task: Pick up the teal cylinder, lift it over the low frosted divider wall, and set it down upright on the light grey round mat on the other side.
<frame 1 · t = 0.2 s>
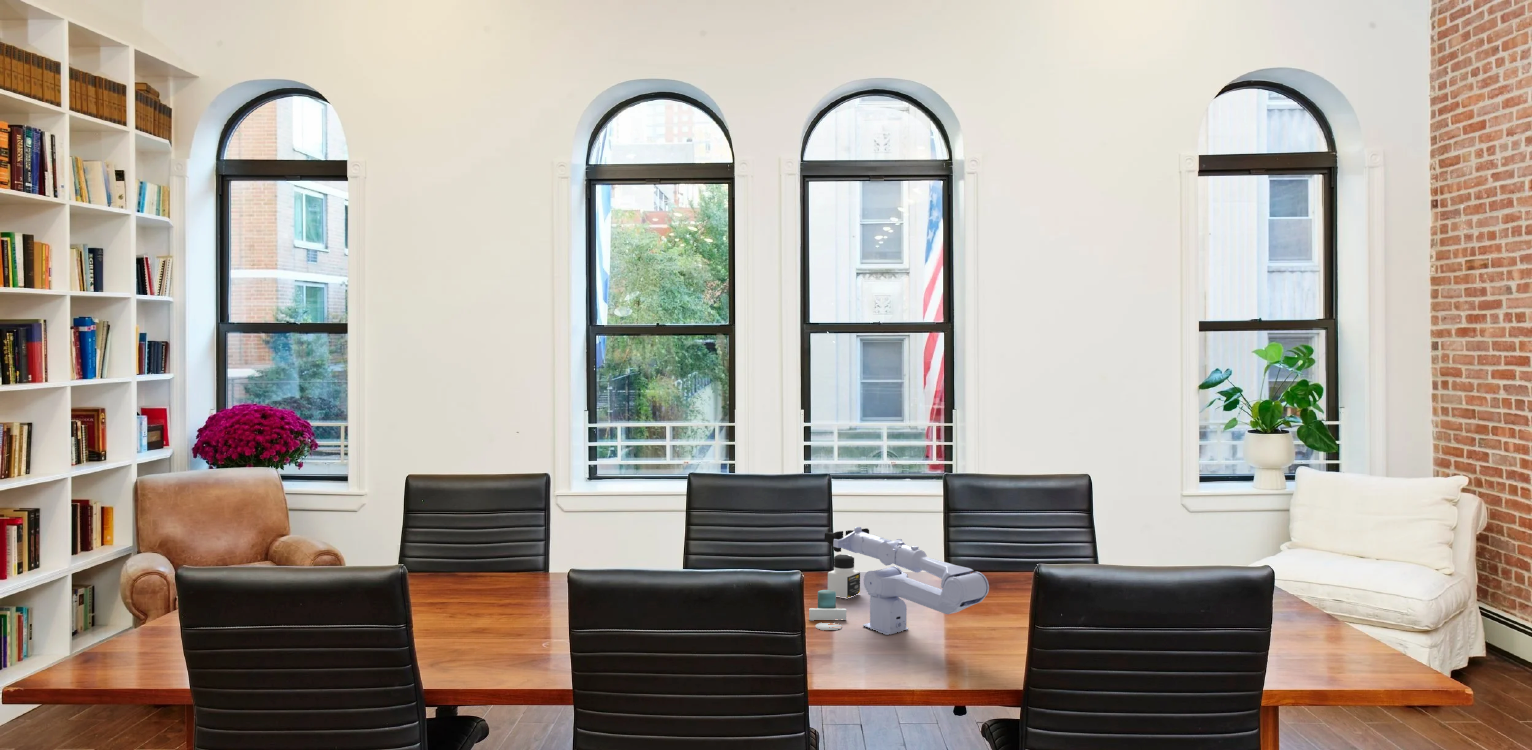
hand: (836, 535, 254), 21 cm above the table, tool horizontal, fingers open, 7 cm apart
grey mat: (828, 626, 240), on the table
divider wall: (827, 619, 246), on the table
medicine bottle: (843, 596, 271), on the table
teal cylinder: (826, 613, 252), on the table
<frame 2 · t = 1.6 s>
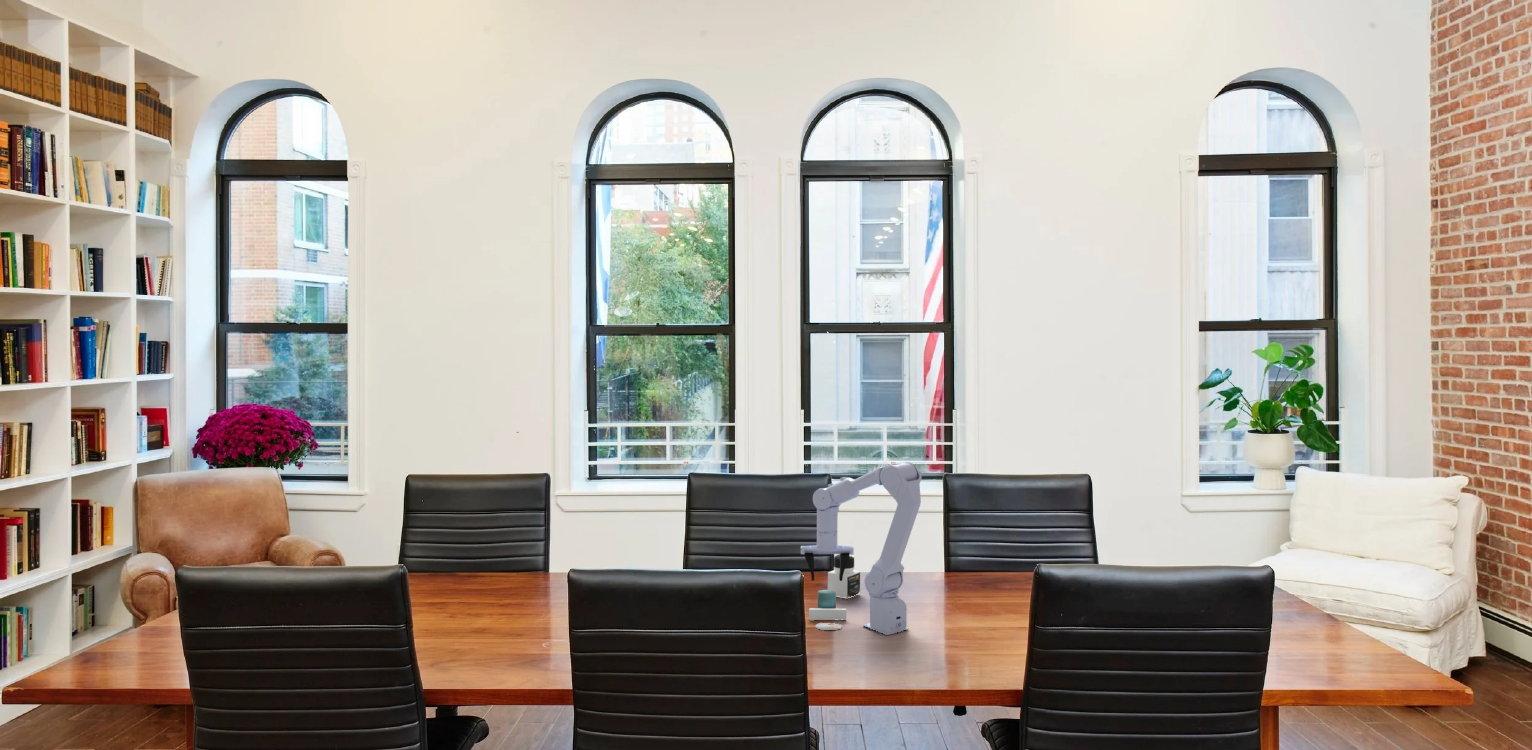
hand: (826, 579, 252), 9 cm above the table, tool pointing down, fingers open, 7 cm apart
nothing on the table moved.
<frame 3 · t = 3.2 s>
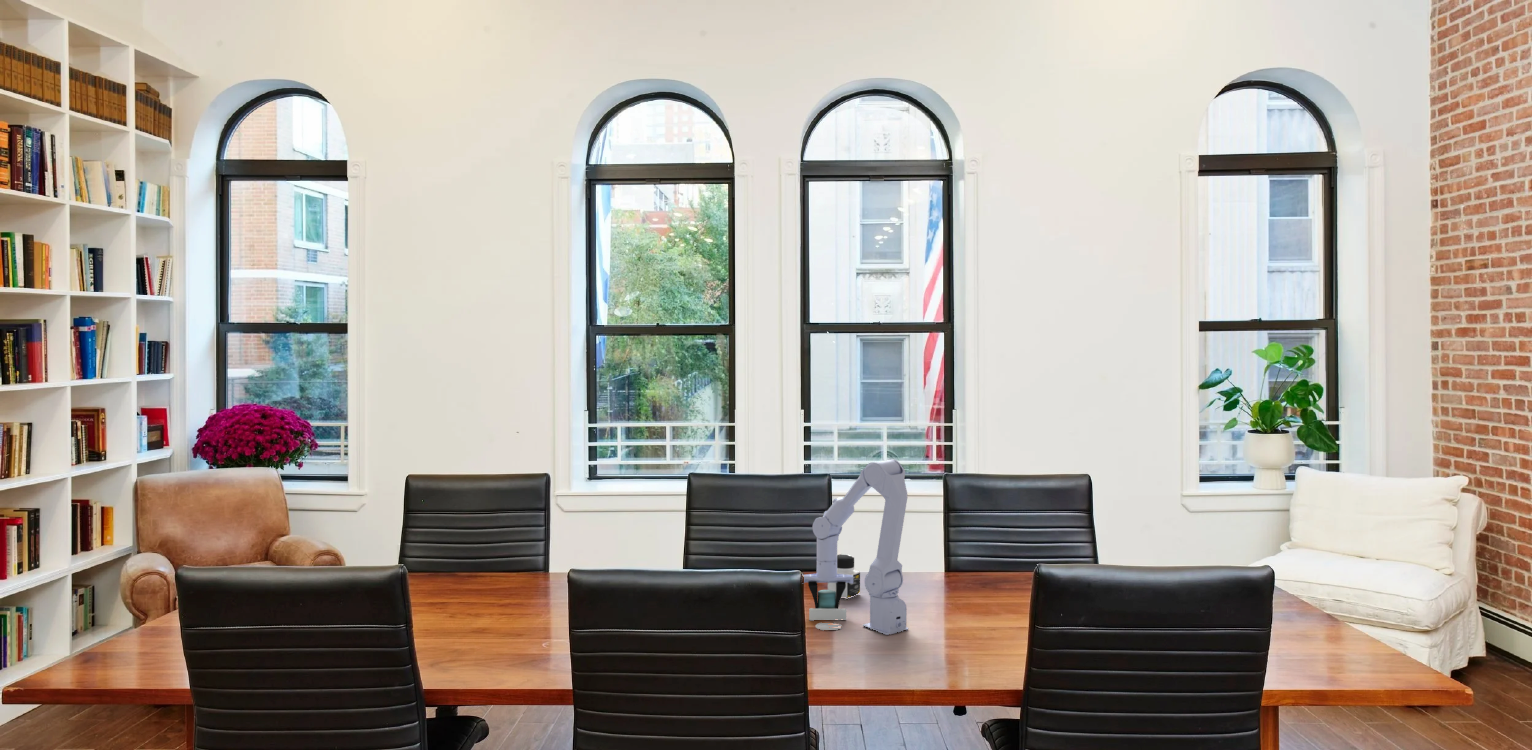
hand: (826, 608, 252), 1 cm above the table, tool pointing down, fingers closed on teal cylinder, 5 cm apart
teal cylinder: (826, 613, 252), on the table, touching gripper
everything else where it was.
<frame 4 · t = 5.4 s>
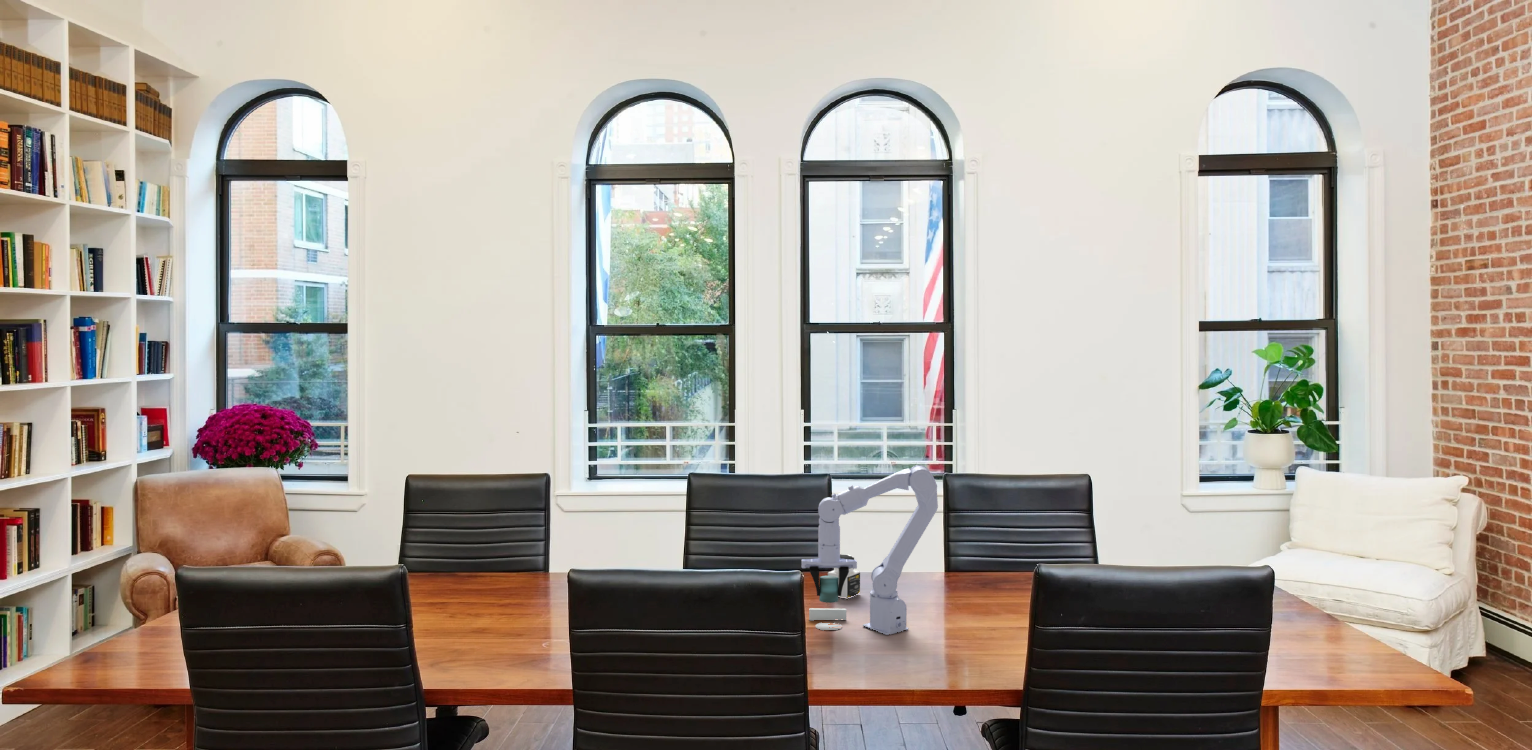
hand: (828, 594, 240), 8 cm above the table, tool pointing down, fingers closed on teal cylinder, 5 cm apart
teal cylinder: (828, 600, 240), point 7 cm above the table, touching gripper
everything else where it was.
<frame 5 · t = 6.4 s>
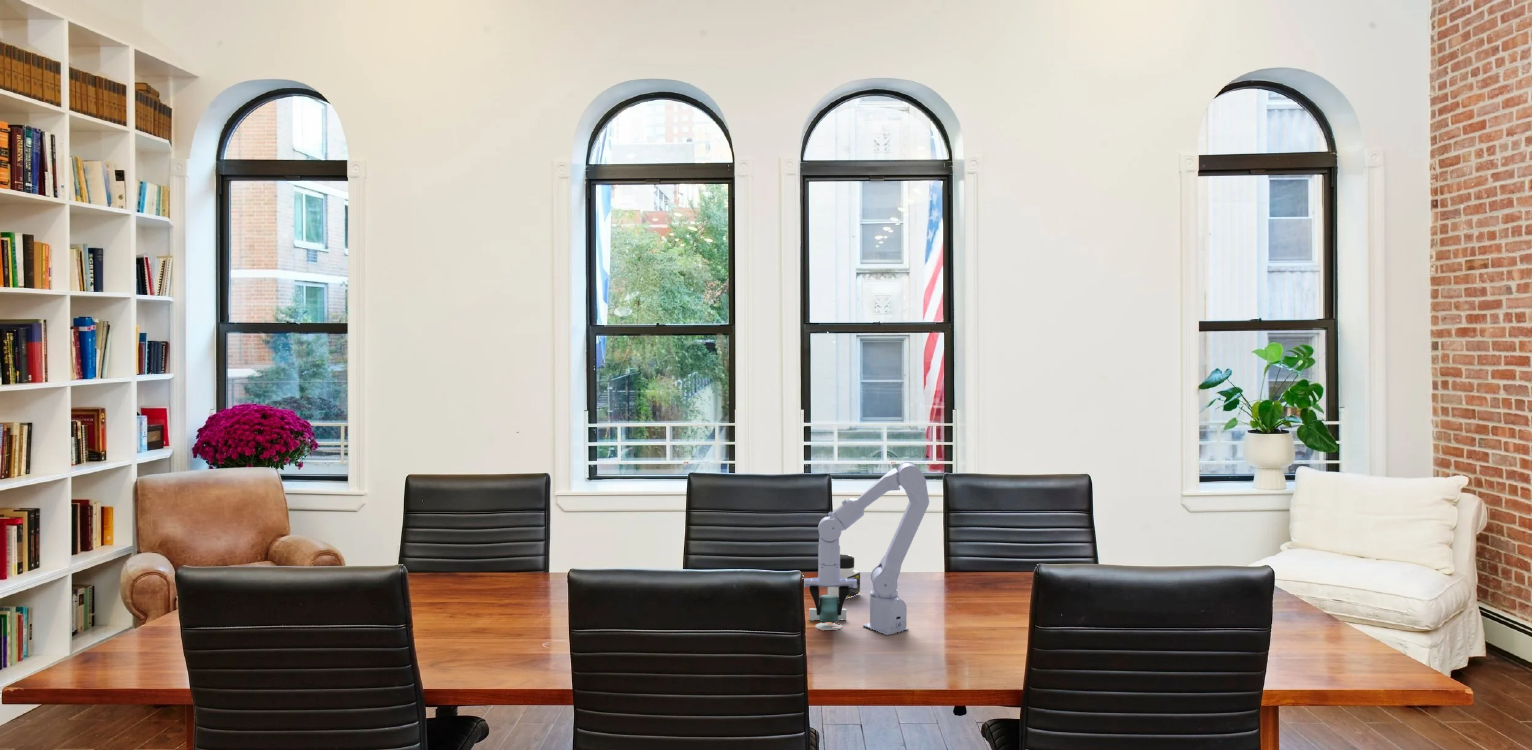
hand: (828, 614, 240), 3 cm above the table, tool pointing down, fingers closed on teal cylinder, 5 cm apart
teal cylinder: (828, 619, 240), point 2 cm above the table, touching gripper
everything else where it was.
when the fingers open (3 cm above the table, at t = 7.4 s): teal cylinder drops 1 cm, resting on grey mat.
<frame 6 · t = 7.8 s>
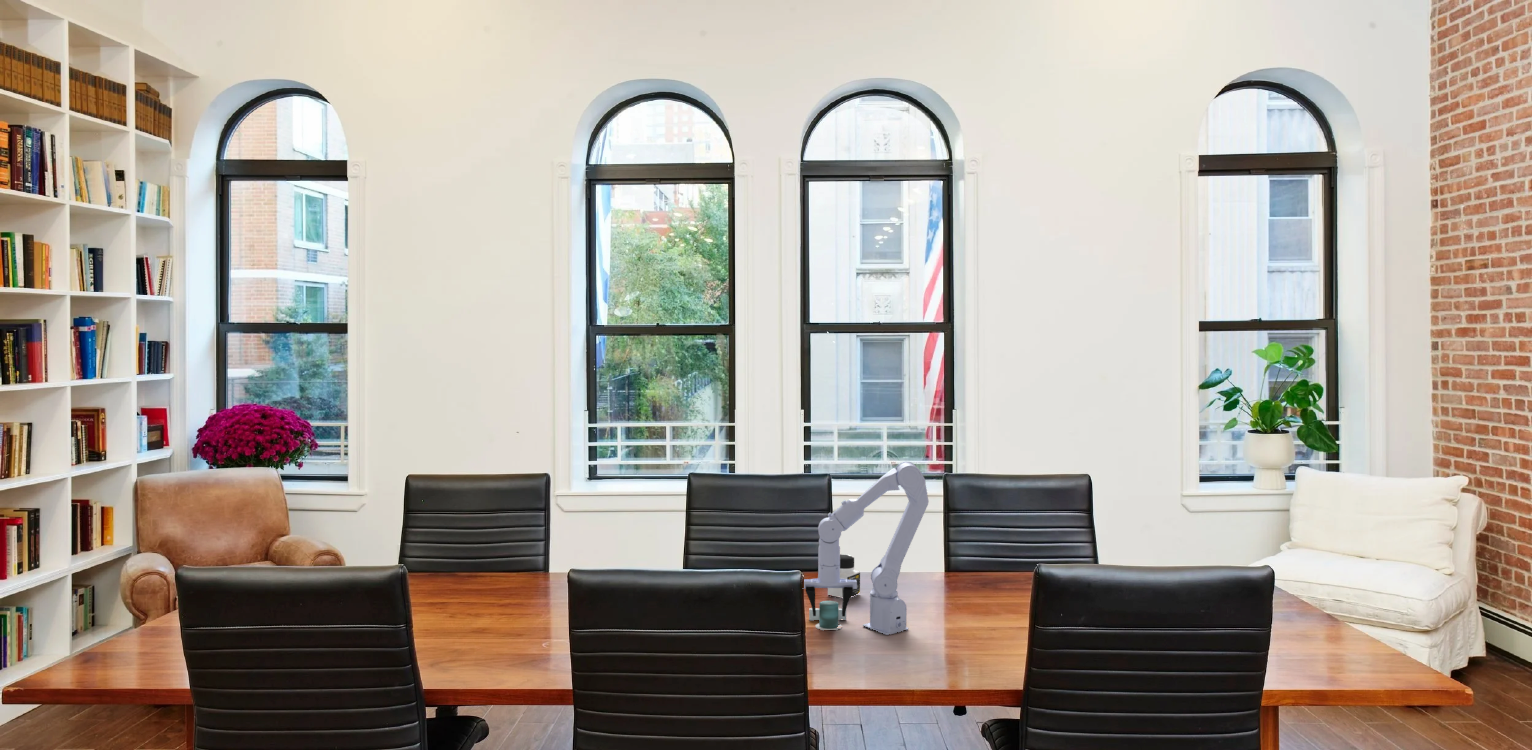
hand: (828, 615, 240), 3 cm above the table, tool pointing down, fingers open, 7 cm apart
teal cylinder: (828, 625, 240), resting on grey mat
everything else where it was.
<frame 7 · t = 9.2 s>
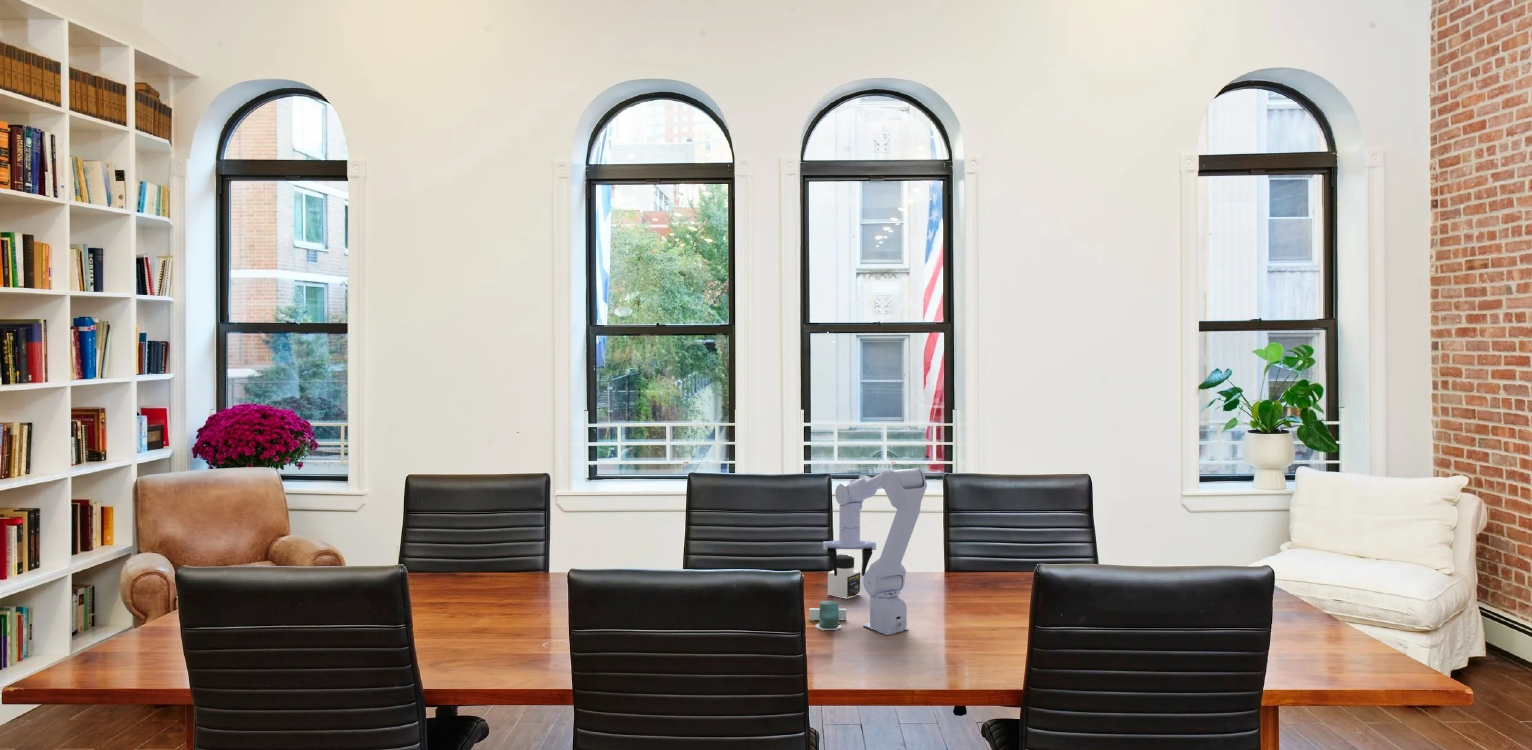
hand: (849, 575, 253), 10 cm above the table, tool pointing down, fingers open, 7 cm apart
nothing on the table moved.
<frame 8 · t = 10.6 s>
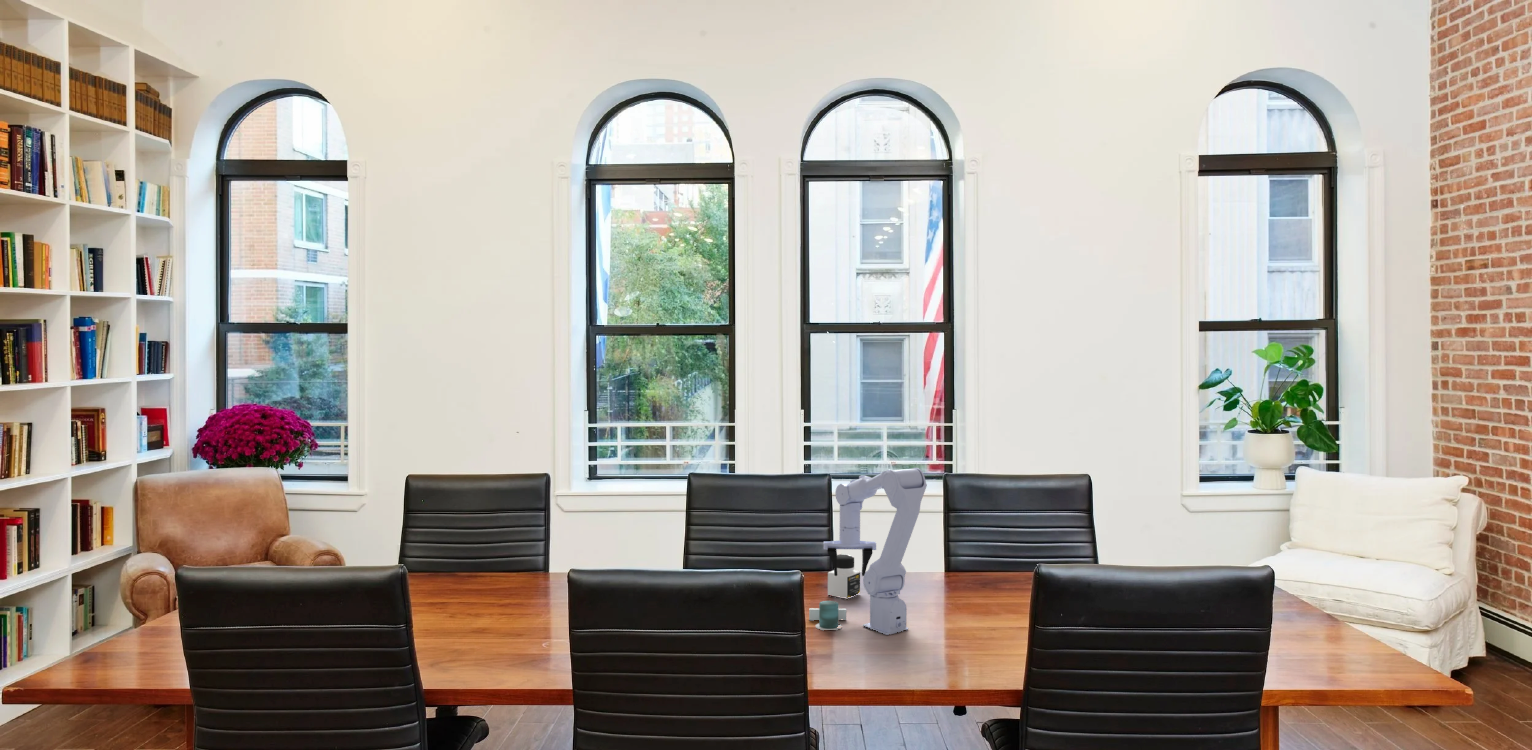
hand: (849, 575, 253), 10 cm above the table, tool pointing down, fingers open, 7 cm apart
nothing on the table moved.
at the end: teal cylinder 0.1 cm from the target spot, resting on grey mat; teal cylinder tilted 0°; the gripper is holding nothing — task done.
